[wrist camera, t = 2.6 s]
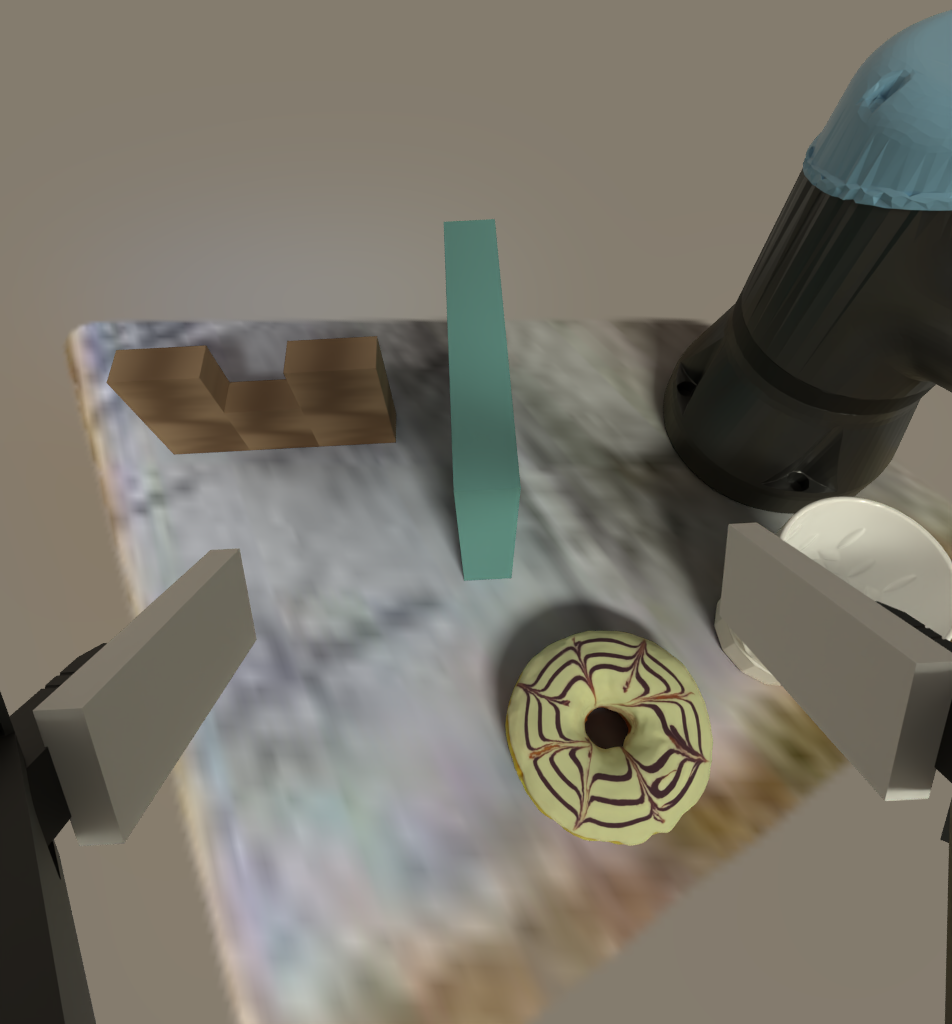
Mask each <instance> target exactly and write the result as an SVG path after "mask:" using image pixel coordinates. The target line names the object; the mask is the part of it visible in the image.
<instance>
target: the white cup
mask: <svg viewBox="0 0 952 1024" xmlns="http://www.w3.org/2000/svg"><path fill="white" fill-rule="evenodd" d="M775 535H776V536H778V537H779V538H781V539H782V540H784V541H785V542H787V543H788V544H790V545H791V546H793V547H794V548H796V549H797V550H799V551H800V552H802V553H803V554H805V555H806V556H808V557H809V558H811V559H812V560H814V561H815V562H817V563H818V564H820V565H821V566H823V567H824V568H826V569H827V570H829V571H830V572H832V573H833V574H835V575H836V576H838V577H839V578H841V579H842V580H844V581H845V582H847V583H848V584H850V585H851V586H853V587H854V588H856V589H857V590H859V591H860V592H862V593H863V594H865V595H866V596H868V597H869V598H871V599H872V600H874V601H878V602H881V603H883V604H886V605H888V606H891V607H893V608H896V609H898V610H901V611H903V612H905V613H907V614H908V615H910V616H911V617H913V618H915V619H916V620H918V621H919V622H921V623H922V624H924V625H925V628H930V629H932V630H933V631H935V632H936V633H938V634H939V635H941V636H942V639H947V640H949V641H950V640H951V639H952V561H951V560H950V558H949V556H948V555H947V553H946V552H945V550H944V549H943V548H942V546H941V545H940V544H939V543H938V541H937V540H936V539H935V538H934V537H933V536H932V535H931V534H930V533H929V532H928V531H927V530H926V529H925V528H923V527H922V526H921V525H920V524H919V523H917V522H916V521H914V520H913V519H912V518H910V517H909V516H907V515H905V514H904V513H902V512H900V511H898V510H896V509H894V508H892V507H890V506H887V505H885V504H882V503H880V502H876V501H873V500H869V499H865V498H859V497H848V496H840V497H830V498H825V499H821V500H818V501H815V502H812V503H810V504H808V505H806V506H805V507H803V508H801V509H800V510H799V511H797V512H796V513H795V514H794V515H793V516H792V517H791V518H790V519H789V520H788V521H787V522H786V523H785V525H784V526H783V527H782V528H781V529H780V530H779V531H778V532H777V533H776V534H775ZM720 603H721V598H720V599H719V601H718V602H717V608H716V616H715V623H714V626H715V629H716V632H717V635H718V638H719V641H720V644H721V647H722V650H723V651H724V653H725V654H726V655H727V656H728V657H729V658H730V659H731V661H732V662H733V663H734V664H735V665H736V666H737V667H738V669H739V670H740V671H741V672H743V673H745V674H747V675H749V676H751V677H753V678H754V679H756V680H758V681H760V682H762V683H764V684H766V685H776V686H782V685H781V684H780V683H779V682H778V681H777V679H776V678H775V677H774V676H773V675H772V674H771V673H770V672H769V670H768V669H767V668H766V667H765V666H764V665H763V664H762V663H761V661H760V660H759V659H758V658H757V657H756V656H755V655H754V654H753V653H752V651H751V650H750V649H749V648H748V647H747V646H746V645H745V644H744V642H743V641H742V640H741V639H740V638H739V637H738V636H737V635H736V633H735V632H734V631H733V630H732V629H731V628H730V627H729V626H728V624H727V623H726V622H725V621H724V620H723V619H722V618H721V617H720V615H719V613H720Z"/></svg>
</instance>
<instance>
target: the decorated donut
mask: <svg viewBox="0 0 952 1024" xmlns="http://www.w3.org/2000/svg"><path fill="white" fill-rule="evenodd" d="M600 707H602V708H603V707H604V708H608V709H609V710H612V711H616V712H617V713H619V715H620V716H622V719H624V720H625V722H626V724H627V727H628V733H627V734H628V735H627V736H626V737H625V740H624V744H623V747H612V748H609V749H603V748H600V747H598V746H596V745H595V744H594V743H593V742H592V741H591V740H590V738H589V737H588V735H587V734H586V731H585V721H587V716H588V715H589V714H590V713H591V712H592V711H593V710H594V709H596V708H600ZM505 728H506V736H507V742H508V747H509V750H510V753H511V756H512V759H513V763H514V767H515V769H516V771H517V774H518V777H519V779H520V781H521V782H522V784H523V787H524V789H525V791H526V793H527V794H528V795H529V797H530V798H531V800H532V801H533V802H534V804H535V805H536V807H537V808H538V809H539V810H540V811H541V812H542V813H543V814H544V815H546V816H547V817H549V818H550V819H553V820H554V821H556V822H557V823H558V824H559V825H561V826H562V827H563V828H564V829H565V830H566V831H567V832H570V833H571V834H573V835H575V836H577V837H579V838H581V839H584V840H589V841H602V842H605V841H607V842H611V843H614V844H625V845H629V846H632V845H637V844H641V843H644V842H645V841H646V840H647V839H648V838H649V837H650V836H651V835H653V834H656V833H660V832H664V833H668V832H669V831H671V830H672V829H673V827H674V826H675V825H676V823H677V822H678V821H679V819H680V818H681V816H682V815H683V814H684V813H685V812H687V811H688V810H689V809H690V808H691V807H692V806H694V805H695V804H696V803H697V802H698V800H699V798H700V797H701V795H702V793H703V792H704V790H705V788H706V785H707V782H708V779H709V776H710V766H711V762H712V746H713V738H712V733H711V725H710V721H709V716H708V713H707V710H706V705H705V702H704V700H703V698H702V695H701V693H700V691H699V689H698V687H697V685H696V683H695V681H694V679H693V678H692V677H691V675H690V673H689V672H688V670H687V669H686V667H685V666H684V665H683V664H682V663H681V662H680V661H679V660H678V659H677V658H675V657H674V656H672V655H671V654H670V653H668V652H667V651H666V650H664V649H663V648H661V647H660V646H658V645H657V644H655V643H654V642H652V641H649V640H647V639H644V638H641V637H638V636H636V635H633V634H630V633H627V632H620V631H586V632H582V633H577V634H574V635H571V636H569V637H567V638H565V639H561V640H559V641H557V642H554V643H552V644H550V645H548V646H547V647H545V648H544V649H543V650H542V651H541V652H540V653H539V654H537V655H535V656H534V657H533V658H532V659H531V660H530V661H529V663H528V664H527V666H526V667H525V668H524V670H523V672H522V674H521V675H520V677H519V679H518V681H517V683H516V685H515V687H514V690H513V693H512V696H511V698H510V701H509V705H508V710H507V715H506V724H505Z"/></svg>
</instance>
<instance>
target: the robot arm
mask: <svg viewBox="0 0 952 1024" xmlns="http://www.w3.org/2000/svg"><path fill="white" fill-rule="evenodd" d="M936 384H937V385H939V386H941V387H943V388H945V389H946V390H948V391H950V392H952V10H949V11H946V12H943V13H940V14H937V15H934V16H931V17H929V18H926V19H924V20H922V21H920V22H917V23H915V24H913V25H911V26H909V27H907V28H906V29H904V30H902V31H901V32H899V33H897V34H896V35H894V36H893V37H891V38H890V39H889V40H887V41H886V42H885V43H884V44H882V45H881V46H880V47H879V48H878V49H877V50H875V51H874V52H873V53H872V54H871V55H870V57H868V58H867V60H866V61H865V62H864V63H863V64H862V65H861V67H860V68H859V69H858V71H857V73H856V74H855V75H854V77H853V78H852V80H851V82H850V84H849V85H848V87H847V89H846V91H845V92H844V94H843V96H842V97H841V99H840V101H839V103H838V105H837V106H836V108H835V110H834V112H833V113H832V115H831V117H830V119H829V120H828V122H827V124H826V126H825V127H824V129H823V131H822V132H821V133H820V134H819V135H818V136H817V137H816V138H815V140H814V141H813V142H812V143H811V145H810V147H809V148H808V150H807V153H806V158H805V160H804V162H803V169H802V171H801V173H800V175H799V177H798V179H797V181H796V183H795V185H794V187H793V189H792V191H791V193H790V195H789V197H788V199H787V201H786V203H785V205H784V207H783V209H782V211H781V213H780V215H779V217H778V219H777V221H776V223H775V225H774V227H773V229H772V231H771V233H770V235H769V237H768V239H767V241H766V243H765V245H764V247H763V249H762V252H761V253H760V256H759V257H758V260H757V262H756V263H755V265H754V267H753V270H752V272H751V273H750V275H749V277H748V280H747V282H746V284H745V286H744V288H743V290H742V292H741V294H740V296H739V298H738V300H737V302H736V304H734V305H733V306H732V307H731V308H730V309H729V310H728V311H727V312H726V313H725V314H724V315H723V316H721V317H720V318H719V319H718V320H717V321H716V322H715V323H714V324H713V325H712V326H711V327H709V328H708V329H707V330H706V331H705V332H704V333H703V334H702V335H701V336H700V337H699V338H698V339H697V340H695V341H694V342H693V343H692V344H691V345H690V346H689V347H688V349H687V350H686V351H685V353H684V354H683V355H682V357H681V358H680V360H679V361H678V363H677V365H676V367H675V370H674V372H673V374H672V376H671V379H670V381H669V383H668V386H667V388H666V392H665V396H664V405H663V413H664V421H665V426H666V429H667V432H668V435H669V438H670V440H671V442H672V444H673V446H674V448H675V449H676V451H677V453H678V454H679V456H680V457H681V459H682V460H683V461H684V462H685V464H686V465H687V466H688V467H689V468H690V469H691V470H692V471H693V472H694V473H695V474H696V475H697V476H698V477H699V478H700V479H702V480H703V481H704V482H705V483H707V484H708V485H709V486H711V487H712V488H714V489H715V490H717V491H718V492H720V493H722V494H723V495H725V496H727V497H729V498H731V499H733V500H735V501H738V502H740V503H743V504H745V505H748V506H751V507H754V508H758V509H762V510H766V511H772V512H778V513H794V514H795V513H796V512H797V511H799V510H800V509H801V508H803V507H805V506H806V505H808V504H810V503H812V502H815V501H818V500H821V499H825V498H830V497H840V496H848V497H854V496H855V495H856V494H858V493H859V492H860V491H861V490H862V489H864V488H865V487H866V486H867V485H869V484H870V483H871V482H872V481H874V480H875V479H876V478H877V477H878V476H879V475H880V474H881V473H882V472H883V471H884V469H885V468H886V467H887V466H888V464H889V463H890V461H891V460H892V458H893V456H894V454H895V452H896V450H897V448H898V446H899V444H900V442H901V440H902V437H903V435H904V433H905V431H906V429H907V427H908V424H909V422H910V420H911V418H912V416H913V414H914V411H915V409H916V407H917V405H918V403H919V401H920V399H921V398H922V396H924V395H925V394H926V393H927V392H928V391H929V390H930V389H931V388H932V387H934V386H935V385H936ZM719 615H720V617H721V618H722V619H723V620H724V621H725V622H726V623H727V624H728V626H729V627H730V628H731V629H732V630H733V631H734V632H735V633H736V635H737V636H738V637H739V638H740V639H741V640H742V641H743V642H744V644H745V645H746V646H747V647H748V648H749V649H750V650H751V651H752V653H753V654H754V655H755V656H756V657H757V658H758V659H759V660H760V661H761V663H762V664H763V665H764V666H765V667H766V668H767V669H768V670H769V672H770V673H771V674H772V675H773V676H774V677H775V678H776V679H777V681H778V682H779V683H780V684H781V685H782V686H783V687H784V688H785V690H786V691H787V692H788V693H789V694H790V695H791V696H792V697H793V699H794V700H795V701H796V702H797V703H798V704H799V705H800V706H801V707H802V709H803V710H804V711H805V712H806V713H807V714H808V715H809V716H810V718H811V719H812V720H813V721H814V722H815V723H816V724H817V725H818V727H819V728H820V729H821V730H822V731H823V732H824V733H825V734H826V736H827V737H828V738H829V739H830V740H831V741H832V742H833V743H834V745H835V746H836V747H837V748H838V749H839V750H840V751H841V752H842V753H843V755H844V756H845V757H846V758H847V759H848V760H849V761H850V762H851V764H852V765H853V766H854V767H855V768H856V769H857V770H858V771H859V773H860V774H861V775H862V776H863V777H864V778H865V779H866V780H867V781H868V783H869V784H870V785H871V786H872V787H873V788H874V789H875V790H876V792H877V793H878V794H879V795H880V796H881V797H882V798H883V799H884V800H885V801H894V800H911V799H928V798H929V795H930V791H931V787H932V783H933V780H934V776H935V771H936V769H937V770H938V771H939V772H941V774H942V775H944V776H945V777H946V778H947V779H948V780H949V781H950V782H951V783H952V642H950V641H949V640H947V639H942V636H941V635H939V634H938V633H936V632H935V631H933V630H932V629H930V628H925V625H924V624H922V623H921V622H919V621H918V620H916V619H915V618H913V617H911V616H910V615H908V614H907V613H905V612H903V611H901V610H898V609H896V608H893V607H891V606H888V605H886V604H883V603H881V602H878V601H874V600H872V599H871V598H869V597H868V596H866V595H865V594H863V593H862V592H860V591H859V590H857V589H856V588H854V587H853V586H851V585H850V584H848V583H847V582H845V581H844V580H842V579H841V578H839V577H838V576H836V575H835V574H833V573H832V572H830V571H829V570H827V569H826V568H824V567H823V566H821V565H820V564H818V563H817V562H815V561H814V560H812V559H811V558H809V557H808V556H806V555H805V554H803V553H802V552H800V551H799V550H797V549H796V548H794V547H793V546H791V545H790V544H788V543H787V542H785V541H784V540H782V539H781V538H779V537H778V536H776V535H775V534H773V533H772V532H770V531H769V530H767V529H766V528H764V527H763V526H761V525H760V524H758V523H738V524H729V525H728V534H727V544H726V554H725V564H724V574H723V584H722V594H721V603H720V613H719ZM256 640H257V639H256V634H255V629H254V623H253V618H252V613H251V607H250V602H249V597H248V591H247V586H246V581H245V575H244V570H243V565H242V560H241V554H240V549H224V550H210V551H209V552H208V553H207V554H206V555H205V556H204V557H202V558H201V559H200V560H199V561H198V562H197V563H196V564H195V565H194V566H193V567H191V568H190V569H189V570H188V571H187V572H186V573H185V574H184V575H183V576H181V577H180V578H179V579H178V580H177V581H176V582H175V583H174V584H173V585H171V586H170V587H169V588H168V589H167V590H166V591H165V592H164V593H163V594H161V595H160V596H159V597H158V598H157V599H156V600H155V601H154V602H153V603H151V604H150V605H149V606H148V607H147V608H146V609H145V610H144V611H143V612H141V613H140V614H139V615H138V616H137V617H136V618H135V619H134V620H133V621H132V622H130V623H129V624H128V625H127V626H126V627H125V628H124V629H123V630H122V631H120V632H119V633H118V634H117V635H116V636H115V637H114V638H113V639H112V640H110V641H109V642H108V643H103V644H101V645H99V646H97V647H95V648H94V649H92V650H90V651H88V652H86V653H85V654H83V655H81V656H79V657H78V658H76V659H75V660H74V661H73V662H72V663H71V664H70V665H68V667H66V668H65V669H64V670H63V671H62V672H60V676H56V677H55V678H53V679H52V680H51V681H50V682H49V683H48V684H47V685H46V686H45V689H41V690H40V691H38V692H37V694H35V695H34V696H33V697H32V698H30V699H29V700H28V701H27V702H26V703H25V704H24V705H22V706H21V707H20V708H19V709H18V710H17V711H15V712H14V713H13V714H12V715H11V716H10V717H9V714H8V712H7V709H6V706H5V703H4V700H3V698H2V695H1V692H0V1024H96V1021H95V1017H94V1013H93V1008H92V1004H91V998H90V994H89V989H88V985H87V980H86V975H85V971H84V966H83V962H82V958H81V953H80V948H79V943H78V939H77V934H76V929H75V925H74V920H73V916H72V911H71V906H70V902H69V897H68V893H67V888H66V883H65V879H64V875H63V870H62V865H61V860H60V856H59V853H58V850H57V847H56V844H55V842H54V838H55V837H56V836H57V834H58V833H59V832H60V831H61V829H62V828H63V827H64V826H65V824H66V823H67V822H68V821H69V819H70V821H71V824H72V827H73V829H74V833H75V836H76V838H77V841H78V844H79V846H89V845H106V844H107V845H108V844H124V843H125V842H126V840H127V839H128V837H129V835H130V834H131V832H132V831H133V829H134V828H135V826H136V825H137V823H138V821H139V820H140V818H141V817H142V815H143V814H144V812H145V811H146V809H147V808H148V806H149V805H150V803H151V802H152V800H153V798H154V797H155V795H156V794H157V792H158V791H159V789H160V788H161V786H162V784H163V783H164V781H165V780H166V778H167V777H168V775H169V774H170V772H171V771H172V769H173V768H174V766H175V765H176V763H177V761H178V760H179V758H180V757H181V755H182V754H183V752H184V751H185V749H186V748H187V746H188V744H189V743H190V741H191V740H192V738H193V737H194V735H195V734H196V732H197V731H198V729H199V727H200V726H201V724H202V723H203V721H204V720H205V718H206V717H207V715H208V714H209V712H210V711H211V709H212V707H213V706H214V704H215V703H216V701H217V700H218V698H219V697H220V695H221V694H222V692H223V690H224V689H225V687H226V686H227V684H228V683H229V681H230V680H231V678H232V677H233V675H234V673H235V672H236V670H237V669H238V667H239V666H240V664H241V663H242V661H243V660H244V658H245V657H246V655H247V653H248V652H249V650H250V649H251V647H252V646H253V644H254V643H255V641H256ZM941 840H943V841H945V842H948V843H949V873H948V874H949V876H948V917H947V958H946V1001H945V1024H952V800H951V803H950V807H949V810H948V814H947V817H946V821H945V825H944V828H943V832H942V836H941Z"/></svg>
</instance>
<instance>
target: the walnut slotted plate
mask: <svg viewBox="0 0 952 1024" xmlns="http://www.w3.org/2000/svg"><path fill="white" fill-rule="evenodd" d="M283 374H284V376H285V378H286V379H282V380H263V381H245V382H229V381H228V379H227V378H226V376H225V375H224V373H223V371H222V370H221V368H220V367H219V365H218V364H217V362H216V360H215V359H214V357H213V356H212V354H211V353H210V351H209V349H208V348H207V346H187V347H169V348H150V349H132V350H116V353H115V357H114V360H113V363H112V367H111V370H110V373H109V377H108V380H107V384H108V385H109V386H110V387H111V388H112V389H113V390H114V391H115V392H116V393H117V394H118V395H119V396H120V397H121V399H122V400H123V401H124V402H125V403H126V404H127V405H128V406H129V407H130V408H131V409H132V410H133V411H134V412H135V413H136V415H137V416H138V417H139V418H140V419H141V420H142V421H143V422H144V423H145V424H146V425H147V426H148V427H149V428H150V429H151V430H152V432H153V433H154V434H155V435H156V436H157V437H158V438H159V439H160V440H161V441H162V442H163V443H164V444H165V445H166V446H167V447H168V449H169V450H170V451H171V452H172V453H173V454H190V453H208V452H227V451H245V450H264V449H282V448H301V447H319V446H337V445H356V444H374V443H393V442H396V411H395V407H394V403H393V399H392V395H391V391H390V387H389V383H388V379H387V375H386V371H385V367H384V363H383V359H382V355H381V350H380V346H379V342H378V338H377V336H373V337H354V338H336V339H317V340H299V341H287V348H286V356H285V364H284V372H283Z"/></svg>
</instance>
